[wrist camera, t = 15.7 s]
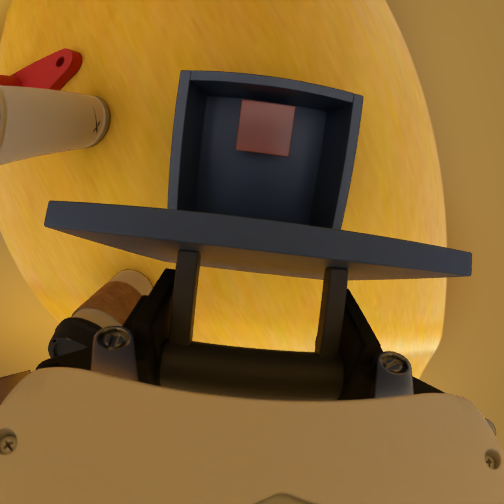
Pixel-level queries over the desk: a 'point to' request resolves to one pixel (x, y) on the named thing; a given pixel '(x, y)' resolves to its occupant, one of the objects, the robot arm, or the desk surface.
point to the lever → (46, 71)
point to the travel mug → (48, 122)
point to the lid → (259, 261)
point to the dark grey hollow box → (258, 164)
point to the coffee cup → (100, 312)
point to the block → (265, 128)
